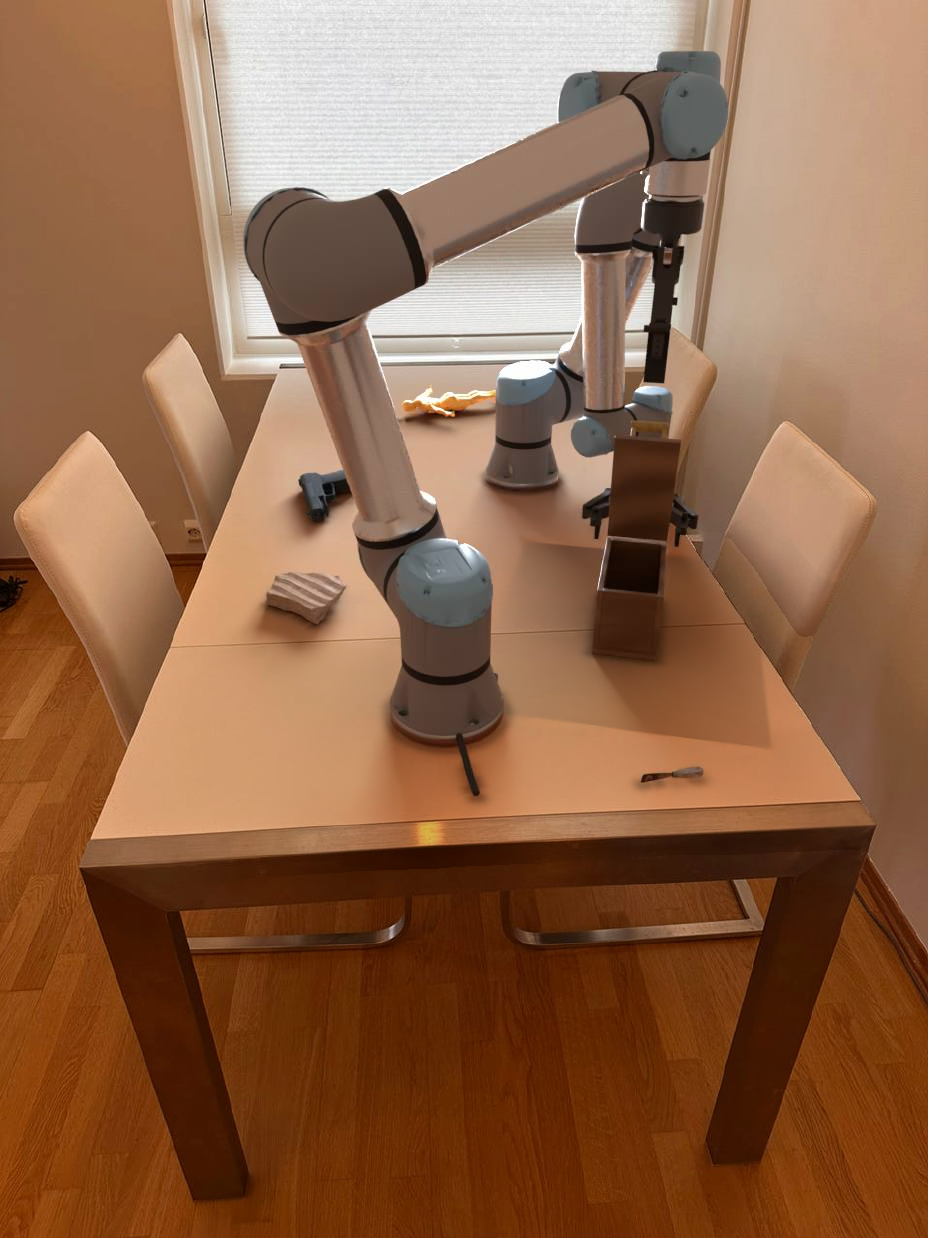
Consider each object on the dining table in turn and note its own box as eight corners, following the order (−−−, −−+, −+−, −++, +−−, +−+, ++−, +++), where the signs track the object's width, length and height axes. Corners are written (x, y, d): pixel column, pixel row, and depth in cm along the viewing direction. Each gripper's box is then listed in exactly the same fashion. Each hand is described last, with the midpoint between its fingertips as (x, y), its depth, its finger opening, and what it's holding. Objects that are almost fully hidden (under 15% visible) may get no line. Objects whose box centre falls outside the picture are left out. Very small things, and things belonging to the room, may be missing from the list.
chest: (655, 661, 131) (663, 597, 125) (591, 653, 133) (597, 590, 127) (659, 602, 145) (667, 542, 140) (601, 596, 147) (607, 537, 141)
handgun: (369, 516, 174) (308, 523, 171) (354, 480, 188) (297, 486, 185) (368, 501, 172) (306, 508, 169) (353, 466, 186) (295, 472, 183)
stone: (356, 590, 149) (354, 577, 147) (319, 626, 139) (317, 612, 138) (289, 576, 153) (287, 563, 152) (249, 610, 144) (247, 596, 142)
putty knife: (703, 777, 109) (705, 767, 109) (642, 788, 108) (644, 777, 107) (700, 772, 110) (702, 762, 109) (639, 782, 109) (640, 771, 108)
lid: (681, 443, 126) (683, 412, 132) (614, 438, 128) (619, 408, 134) (667, 541, 139) (669, 509, 145) (607, 535, 141) (612, 504, 146)
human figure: (395, 413, 223) (394, 398, 221) (438, 390, 237) (438, 375, 235) (462, 429, 215) (462, 413, 213) (502, 404, 229) (503, 388, 227)
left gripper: (648, 184, 122) (633, 341, 133) (638, 210, 101) (621, 393, 113) (704, 186, 121) (684, 344, 132) (706, 212, 100) (682, 397, 111)
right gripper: (707, 510, 169) (708, 562, 152) (576, 498, 174) (562, 548, 156) (713, 473, 165) (715, 522, 148) (578, 462, 170) (565, 509, 152)
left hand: (655, 367), depth 122 cm, fingers open, 13 cm apart
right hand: (636, 536), depth 152 cm, fingers open, 13 cm apart
